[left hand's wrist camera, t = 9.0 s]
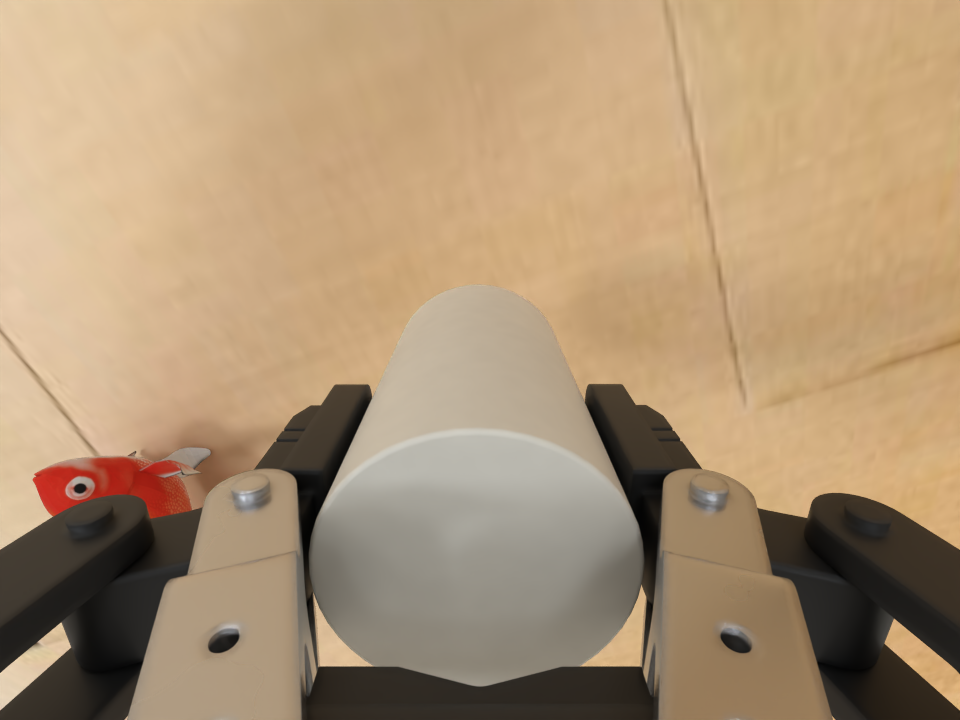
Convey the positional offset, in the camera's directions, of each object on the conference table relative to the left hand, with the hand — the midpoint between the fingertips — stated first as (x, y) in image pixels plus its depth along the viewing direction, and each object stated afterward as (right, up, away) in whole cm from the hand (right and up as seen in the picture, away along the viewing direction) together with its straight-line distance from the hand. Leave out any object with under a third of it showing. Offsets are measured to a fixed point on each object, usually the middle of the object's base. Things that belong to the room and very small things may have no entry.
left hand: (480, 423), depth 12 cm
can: (0, +1, +4) cm, 4 cm away
